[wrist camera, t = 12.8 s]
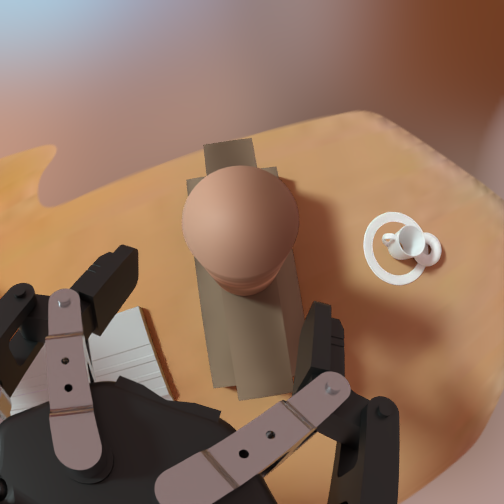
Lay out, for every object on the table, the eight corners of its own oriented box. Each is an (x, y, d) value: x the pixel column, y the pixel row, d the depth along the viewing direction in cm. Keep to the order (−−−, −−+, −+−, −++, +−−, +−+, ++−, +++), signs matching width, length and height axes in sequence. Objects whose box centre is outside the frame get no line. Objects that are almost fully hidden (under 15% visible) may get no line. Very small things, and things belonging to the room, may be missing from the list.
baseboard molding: (183, 417, 29) (143, 306, 31) (177, 425, 26) (133, 305, 28) (-8, 446, 26) (-35, 365, 29) (-21, 451, 24) (-48, 366, 26)
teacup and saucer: (440, 243, 33) (459, 234, 29) (413, 303, 31) (432, 300, 27) (381, 200, 34) (395, 185, 30) (349, 259, 32) (361, 251, 28)
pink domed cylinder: (214, 300, 23) (188, 285, 13) (206, 233, 24) (177, 174, 14) (284, 290, 23) (308, 267, 13) (272, 223, 24) (287, 159, 14)
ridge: (215, 384, 29) (204, 404, 21) (189, 187, 33) (173, 150, 25) (308, 369, 29) (328, 385, 22) (274, 175, 34) (281, 134, 26)
